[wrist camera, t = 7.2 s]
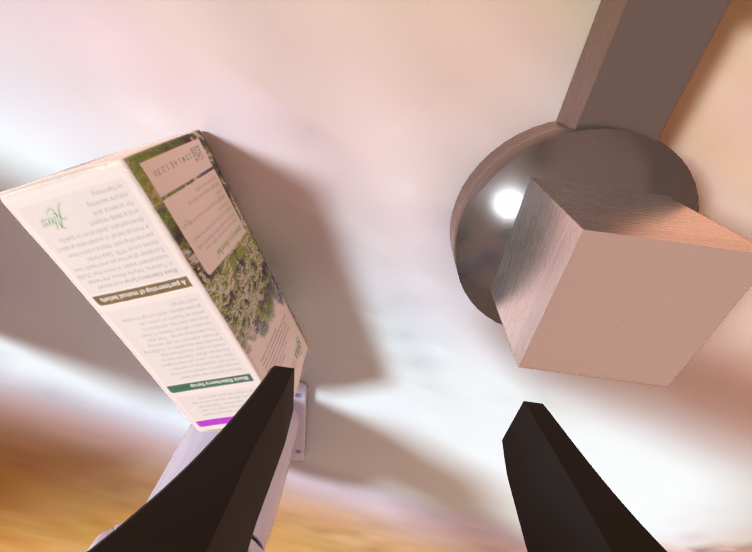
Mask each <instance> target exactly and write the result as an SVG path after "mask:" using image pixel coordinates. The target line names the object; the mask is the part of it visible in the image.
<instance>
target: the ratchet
mask: <svg viewBox="0 0 752 552" xmlns="http://www.w3.org/2000/svg"><path fill="white" fill-rule="evenodd" d="M730 1H731V0H602V1H601V3H600V6H599V9H598V11H597V14H596V17H595V19H594V22H593V25H592V27H591V30H590V33H589V35H588V38H587V41H586V43H585V46H584V49H583V51H582V54H581V57H580V59H579V62H578V65H577V68H576V70H575V73H574V76H573V78H572V81H571V84H570V86H569V89H568V92H567V94H566V97H565V100H564V102H563V105H562V108H561V110H560V113H559V116H558V118H557V121H555V122H550V123H546V124H543V125H540V126H537V127H534V128H531V129H529V130H527V131H525V132H522V133H520V134H518V135H516V136H515V137H513V138H511V139H510V140H508V141H506V142H505V143H503V144H502V145H501V146H499V147H498V148H497V149H495V150H494V151H493V152H491V153H490V154H489V155H488V156H487V157H486V158H485V159H484V160H483V161H482V162H481V163H480V164H479V165H478V166H477V168H476V169H475V170H474V171H473V172H472V174H471V175H470V176H469V178H468V180H467V181H466V183H465V184H464V186H463V187H462V190H461V192H460V194H459V196H458V198H457V200H456V203H455V206H454V209H453V213H452V218H451V224H450V240H451V247H452V251H453V255H454V259H455V263H456V267H457V271H458V275H459V279H460V282H461V284H462V287H463V289H464V291H465V293H466V294H467V296H468V298H469V299H470V301H471V302H472V303H473V304H474V305H475V306H476V307H477V308H478V309H479V310H480V311H481V312H482V313H483V314H485V315H486V316H487V317H489V318H491V319H492V320H494V321H495V322H497V323H500V324H502V321H501V318H500V316H499V313H498V310H497V307H496V305H495V302H494V299H493V297H492V294H491V291H490V290H491V287H492V284H493V281H494V278H495V276H496V273H497V270H498V267H499V264H500V261H501V259H502V256H503V253H504V250H505V247H506V244H507V242H508V239H509V236H510V233H511V230H512V227H513V225H514V222H515V219H516V216H517V213H518V210H519V208H520V205H521V202H522V199H523V196H524V194H525V191H526V188H527V185H528V182H529V179H530V177H532V178H539V179H546V180H554V181H561V182H568V183H576V184H583V185H590V186H598V187H605V188H612V189H620V190H627V191H634V192H642V193H649V194H656V195H664V196H668V197H670V198H672V199H673V200H675V201H677V202H679V203H681V204H683V205H684V206H686V207H688V208H690V209H692V210H694V211H695V212H697V213H698V212H699V207H698V194H697V189H696V185H695V182H694V179H693V177H692V175H691V173H690V170H689V169H688V168H687V166H686V165H685V163H684V162H683V161H682V159H681V158H680V157H679V156H678V155H677V154H676V153H674V152H673V151H672V150H671V149H670V148H668V147H667V146H665V145H664V144H662V143H661V142H659V141H657V139H658V137H659V136H660V134H661V132H662V130H663V128H664V126H665V124H666V122H667V120H668V119H669V117H670V115H671V113H672V111H673V109H674V107H675V105H676V103H677V102H678V100H679V98H680V96H681V94H682V92H683V90H684V88H685V86H686V85H687V83H688V81H689V79H690V77H691V75H692V73H693V71H694V69H695V68H696V66H697V64H698V62H699V60H700V58H701V56H702V54H703V52H704V51H705V49H706V47H707V45H708V43H709V41H710V39H711V37H712V35H713V34H714V32H715V30H716V28H717V26H718V24H719V22H720V20H721V18H722V17H723V15H724V13H725V11H726V9H727V7H728V5H729V3H730ZM502 325H503V324H502Z"/></svg>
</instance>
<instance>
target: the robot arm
mask: <svg viewBox="0 0 752 552" xmlns="http://www.w3.org/2000/svg"><path fill="white" fill-rule="evenodd" d="M294 369H295V368H289V367H282V366H273V367H271V369H270V370H269V372H268V373H267V375H266V376H265V377H264V379H263V380H262V382H261V383H260V384H259V386H258V387H257V388H256V389H255V391H254V392H253V393H252V395H251V396H250V397H249V398H248V400H247V401H246V402H245V403H244V405H243V406H242V407H241V408H240V409H239V410H238V412H237V413H236V414H235V415H234V416H233V417H232V419H231V420H230V421H229V422H228V423H227V424H226V426H225V427H224V428H223V429H222V430H221V431H207V432H200V431H198V430H197V429H196V428H195V427H194V426H193V424H192V423H191V425H190V426H189V428H188V430H187V432H186V433H185V435H184V437H183V439H182V440H181V442H180V444H179V446H178V448H177V449H176V451H175V453H174V455H173V456H172V458H171V460H170V462H169V463H168V465H167V467H166V469H165V470H164V472H163V474H162V476H161V477H160V479H159V481H158V483H157V484H156V486H155V488H154V490H153V491H152V493H151V495H150V497H149V499H148V500H147V502H146V504H145V505H144V506H142V507H141V508H140V509H139V510H138V511H137V512H135V513H134V514H133V515H132V516H131V517H130V518H128V519H127V520H126V521H125V522H124V523H118V524H116V525H115V526H114V527H113V528H110V529H108V530H106V531H104V532H102V533H100V534H99V535H98V536H97V538H96V539H95V540H94V542H93V543H92V544H91V546H90V547H89V549H88V550H87V551H86V552H266V551H264V550H265V547H266V543H267V542H268V539H269V537H270V535H271V532H272V528H273V524H274V521H275V517H276V513H277V510H278V506H279V502H280V499H281V495H282V491H283V488H284V484H285V480H286V477H287V473H288V469H289V466H290V462H291V461H297V462H300V461H302V460H303V459H304V456H305V429H306V401H307V386H306V385H305V384H304V383H301V382H299V385H298V388H297V391H296V394H295V397H294ZM502 442H503V450H504V458H505V464H506V471H507V476H508V480H509V484H510V488H511V492H512V495H513V499H514V503H515V507H516V511H517V514H518V518H519V522H520V525H521V529H522V533H523V536H524V540H525V544H526V548H527V551H528V552H667V551H666V550H665V549H664V548H663V547H662V546H661V545H660V544H659V543H658V542H657V541H656V540H655V539H654V538H653V536H652V535H651V534H650V533H649V532H648V531H647V530H646V529H645V528H644V527H643V526H642V525H641V524H640V523H639V521H638V520H637V519H636V518H635V517H634V516H633V515H632V514H631V512H630V511H629V510H628V509H627V508H626V507H625V506H624V504H623V503H622V502H621V501H620V500H619V499H618V498H617V496H616V495H615V494H614V493H613V492H612V491H611V489H610V488H609V487H608V486H607V485H606V483H605V482H604V481H603V480H602V479H601V477H600V476H599V475H598V474H597V472H596V471H595V470H594V469H593V467H592V466H591V465H590V464H589V462H588V461H587V460H586V459H585V457H584V456H583V455H582V454H581V452H580V451H579V450H578V449H577V447H576V446H575V445H574V443H573V442H572V441H571V439H570V438H569V437H568V436H567V434H566V433H565V432H564V430H563V429H562V428H561V426H560V425H559V424H558V423H557V421H556V420H555V419H554V417H553V416H552V415H551V413H550V412H549V411H548V410H547V408H546V407H545V406H544V405H543V404H540V403H533V402H526V401H524V402H523V403H522V405H521V407H520V409H519V411H518V412H517V414H516V416H515V418H514V420H513V422H512V423H511V425H510V427H509V429H508V431H507V432H506V434H505V436H504V438H503V440H502Z"/></svg>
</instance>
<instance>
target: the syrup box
mask: <svg viewBox="0 0 752 552" xmlns="http://www.w3.org/2000/svg"><path fill="white" fill-rule="evenodd" d="M0 199H1V201H2V203H3V204H4V205H5V206H6V207H7V208H8V210H9V211H10V212H11V213H12V214H13V215H14V216H15V218H16V219H17V220H18V221H19V222H20V223H21V224H22V226H23V227H24V228H25V229H26V230H27V231H28V232H29V234H30V235H31V236H32V237H33V238H34V239H35V240H36V241H37V243H38V244H39V245H40V246H41V247H42V248H43V249H44V250H45V251H46V252H47V254H48V255H49V256H50V257H51V258H52V259H53V260H54V262H55V263H56V264H57V265H58V266H59V267H60V268H61V270H62V271H63V272H64V273H65V274H66V275H67V277H68V278H69V279H70V280H71V281H72V283H73V284H74V285H75V286H76V287H77V288H78V290H79V291H80V292H81V293H82V294H83V295H84V296H85V298H86V299H87V300H88V301H89V303H90V304H91V305H92V306H93V307H94V308H95V310H96V311H97V312H98V313H99V314H100V315H101V317H102V318H103V319H104V320H105V321H106V322H107V324H108V325H109V326H110V327H111V328H112V330H113V331H114V332H115V333H116V334H117V335H118V337H119V338H120V339H121V340H122V341H123V343H124V344H125V345H126V346H127V347H128V348H129V350H130V351H131V352H132V353H133V354H134V356H135V357H136V358H137V359H138V360H139V362H140V363H141V364H142V365H143V366H144V368H145V369H146V370H147V371H148V372H149V374H150V375H151V376H152V377H153V378H154V380H155V381H156V382H157V383H158V384H159V386H160V387H161V388H162V389H163V391H164V392H165V393H166V394H167V395H168V396H169V398H170V399H171V400H172V401H173V402H174V404H175V405H176V406H177V407H178V408H179V410H180V411H181V412H182V413H183V414H184V415H185V416H186V418H187V419H188V420H189V421H190V422H191V423H192V424H193V426H194V427H195V428H196V429H197V430H198V431H200V432H207V431H221V430H222V429H223V428H224V427H225V426H226V424H227V423H228V422H229V421H230V420H231V419H232V417H233V416H234V415H235V414H236V413H237V412H238V410H239V409H240V408H241V407H242V406H243V405H244V403H245V402H246V401H247V400H248V398H249V397H250V396H251V395H252V393H253V392H254V391H255V389H256V388H257V387H258V386H259V384H260V383H261V382H262V380H263V379H264V377H265V376H266V375H267V373H268V372H269V370H270V369H271V367H273V366H282V367H289V368H295V369H294V397H295V394H296V391H297V388H298V385H299V381H300V377H301V373H302V368H303V364H304V359H305V356H306V355H307V352H308V346H307V344H306V342H305V340H304V338H303V336H302V334H301V332H300V330H299V328H298V326H297V324H296V322H295V320H294V318H293V316H292V314H291V312H290V310H289V308H288V306H287V304H286V302H285V300H284V298H283V296H282V294H281V292H280V290H279V288H278V286H277V284H276V282H275V280H274V278H273V276H272V274H271V272H270V270H269V268H268V266H267V264H266V262H265V260H264V258H263V256H262V254H261V252H260V250H259V248H258V246H257V244H256V242H255V240H254V238H253V236H252V234H251V232H250V230H249V228H248V226H247V224H246V222H245V220H244V218H243V216H242V214H241V212H240V210H239V208H238V206H237V204H236V202H235V200H234V198H233V195H232V193H231V192H230V190H229V188H228V186H227V184H226V182H225V180H224V178H223V176H222V174H221V172H220V170H219V168H218V166H217V164H216V162H215V160H214V158H213V156H212V154H211V152H210V150H209V148H208V146H207V144H206V142H205V140H204V138H203V136H202V134H201V132H200V131H199V130H194V131H191V132H187V133H184V134H180V135H176V136H173V137H169V138H165V139H161V140H158V141H154V142H151V143H147V144H143V145H140V146H137V147H133V148H130V149H126V150H123V151H120V152H116V153H113V154H110V155H107V156H104V157H101V158H98V159H95V160H92V161H89V162H86V163H83V164H80V165H77V166H74V167H71V168H68V169H65V170H62V171H59V172H57V173H54V174H51V175H49V176H46V177H43V178H41V179H38V180H35V181H32V182H30V183H27V184H24V185H21V186H18V187H15V188H11V189H8V190H5V191H2V192H0Z"/></svg>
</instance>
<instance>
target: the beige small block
mask: <svg viewBox="0 0 752 552" xmlns="http://www.w3.org/2000/svg"><path fill="white" fill-rule="evenodd" d="M751 286H752V242H750V241H748V240H747V239H745V238H743V237H741V236H739V235H737V234H736V233H734V232H732V231H730V230H728V229H726V228H725V227H723V226H721V225H719V224H717V223H716V222H714V221H712V220H710V219H708V218H706V217H705V216H703V215H701V214H699V213H697V212H695V211H694V210H692V209H690V208H688V207H686V206H684V205H683V204H681V203H679V202H677V201H675V200H673V199H672V198H670V197H668V196H664V195H656V194H649V193H642V192H634V191H627V190H620V189H612V188H605V187H598V186H590V185H583V184H576V183H568V182H561V181H554V180H546V179H539V178H532V177H530V179H529V182H528V185H527V188H526V191H525V194H524V196H523V199H522V202H521V205H520V208H519V210H518V213H517V216H516V219H515V222H514V225H513V227H512V230H511V233H510V236H509V239H508V242H507V244H506V247H505V250H504V253H503V256H502V259H501V261H500V264H499V267H498V270H497V273H496V276H495V278H494V281H493V284H492V287H491V290H490V291H491V294H492V297H493V299H494V302H495V305H496V307H497V310H498V313H499V316H500V318H501V321H502V324H503V327H504V329H505V332H506V335H507V337H508V340H509V343H510V346H511V348H512V351H513V354H514V357H515V359H516V362H517V365H518V367H521V368H529V369H536V370H544V371H552V372H559V373H567V374H575V375H582V376H590V377H597V378H605V379H613V380H620V381H628V382H635V383H643V384H651V385H658V386H666V387H668V386H669V385H670V383H671V382H672V381H673V380H674V378H675V377H676V376H677V375H678V374H679V372H680V371H681V370H682V369H683V368H684V366H685V365H686V364H687V363H688V362H689V360H690V359H691V358H692V357H693V356H694V354H695V353H696V352H697V351H698V350H699V348H700V347H701V346H702V345H703V343H704V342H705V341H706V340H707V339H708V337H709V336H710V335H711V334H712V333H713V331H714V330H715V329H716V328H717V327H718V325H719V324H720V323H721V322H722V321H723V319H724V318H725V317H726V316H727V315H728V313H729V312H730V311H731V310H732V308H733V307H734V306H735V305H736V304H737V302H738V301H739V300H740V299H741V298H742V296H743V295H744V294H745V293H746V292H747V290H748V289H749V288H750V287H751Z"/></svg>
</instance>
